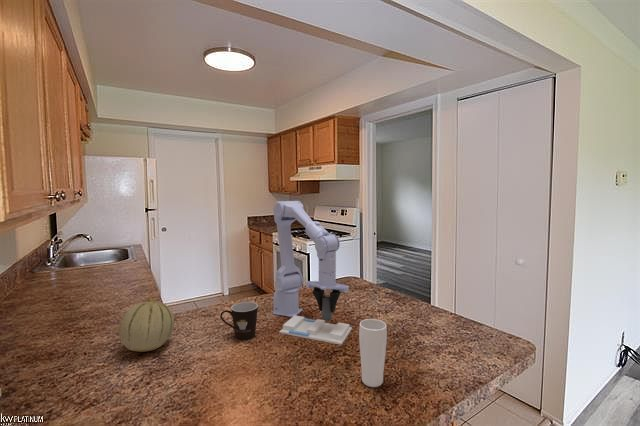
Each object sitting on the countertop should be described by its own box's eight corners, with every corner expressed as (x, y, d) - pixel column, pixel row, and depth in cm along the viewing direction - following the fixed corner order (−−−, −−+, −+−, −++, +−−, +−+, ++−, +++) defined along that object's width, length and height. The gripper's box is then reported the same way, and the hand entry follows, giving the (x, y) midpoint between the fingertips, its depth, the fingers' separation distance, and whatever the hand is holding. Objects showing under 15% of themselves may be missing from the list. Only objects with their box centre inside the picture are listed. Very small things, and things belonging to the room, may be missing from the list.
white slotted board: (279, 333, 106) (279, 326, 105) (295, 319, 117) (295, 313, 116) (341, 344, 97) (341, 338, 97) (352, 328, 108) (352, 322, 108)
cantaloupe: (117, 367, 85) (114, 314, 84) (122, 344, 98) (120, 297, 97) (176, 354, 92) (174, 304, 91) (174, 333, 105) (172, 290, 104)
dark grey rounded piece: (320, 319, 104) (320, 297, 104) (330, 308, 114) (330, 288, 113) (330, 321, 103) (330, 299, 102) (339, 310, 112) (339, 289, 112)
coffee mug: (263, 333, 106) (263, 304, 105) (247, 344, 98) (246, 313, 97) (236, 326, 110) (235, 299, 110) (218, 337, 103) (218, 307, 102)
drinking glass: (387, 376, 81) (388, 320, 80) (384, 392, 74) (384, 331, 73) (361, 371, 83) (362, 317, 82) (356, 387, 77) (356, 327, 75)
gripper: (302, 271, 103) (302, 311, 104) (344, 276, 98) (344, 318, 99) (310, 266, 109) (310, 304, 111) (350, 270, 104) (350, 310, 105)
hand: (327, 310), depth 105 cm, fingers closed on dark grey rounded piece, 4 cm apart
